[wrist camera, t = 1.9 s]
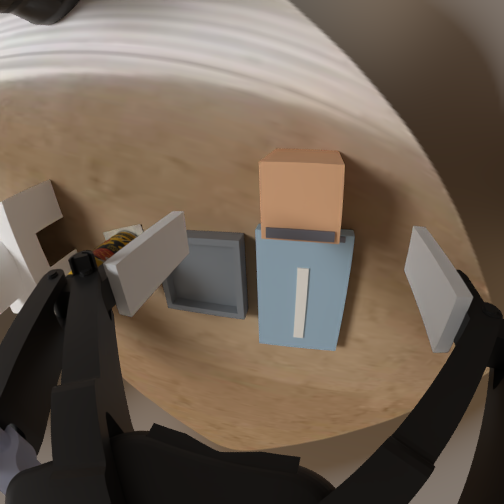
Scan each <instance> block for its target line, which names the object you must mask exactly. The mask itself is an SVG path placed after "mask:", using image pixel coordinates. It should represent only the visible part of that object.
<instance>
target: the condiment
mask: <svg viewBox="0 0 504 504" xmlns="http://www.w3.org/2000/svg"><path fill="white" fill-rule="evenodd" d="M142 233H143V230H142V227H141V225H140V224H139V225H134V226H129V227H125V228H120V229H116V230H112V231H108V232H103V234H104V236H105V239H106V241H105V242H104V243H103V244H101V245H100V246H98V247H97V248H96V249H94V250H93V253H94V256H95V260H96V263H97V267H99V266H100V265H101V264H102V263H104V262H105V261H106V260H107V259H109V258H110V257H111V256H112V255H114V254H115V253H116V252H118V251H119V250H120V249H121V248H123V247H125V246H126V245H127V244H128V243H130V242H131V241H132V240H134V239H135V238H136V237H138V236H139V235H140V234H142ZM71 277H73V274H72V271H70V273H69V274H68V275H67V276H66V278H71Z"/></svg>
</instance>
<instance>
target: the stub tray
mask: <svg viewBox="0 0 504 504" xmlns="http://www.w3.org/2000/svg"><path fill="white" fill-rule="evenodd" d="M186 232H187V239H188V246H189V254H188V255H187V256H186V257H185V258H184V259H183V260H182V261H181V263H180V264H179V265H178V266H177V267H176V268H175V269H174V270H173V271H172V272H171V273H170V275H169V276H168V277H167V278H166V279H165V280H164V281H163V282H162V284H163V288H164V292H165V296H166V300H167V304H168V308H173V309H178V310H184V311H190V312H196V313H202V314H209V315H215V316H222V317H229V318H236V319H245V317H246V314H247V312H248V296H247V279H246V262H245V245H244V233H232V232H214V231H195V230H186Z"/></svg>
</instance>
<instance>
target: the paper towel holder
mask: <svg viewBox="0 0 504 504" xmlns="http://www.w3.org/2000/svg"><path fill="white" fill-rule="evenodd" d="M62 217H63V216H62V213H61V210H60V207H59V205H58V202H57V199H56V196H55V193H54V190H53V187H52V184H51V181H50V179H49V180H47V181H44V182H42V183H40V184H38V185H35V186H33V187H31V188H29V189H26V190H24V191H22V192H20V193H18V194H16V195H14V196H12V197H10V198H8V199H6V200H4V201H2V202H0V314H1V313H2V312H3V311H5V310H6V309H7V308H8V307H9V306H10V307H11V309H12V311H13V312H14V313H19V312H20V310H21V308H22V307H23V305H24V304H25V302H26V301H27V299H28V297H29V296H30V294H31V293H32V291H33V290H34V288H35V287H36V286H37V284H38V283H39V281H40V280H41V278H42V277H43V276H44V275H45V274H46V273H48V271H50V270H53V269H54V270H55V269H62V270H63V271H64V274H65V276H67V275H68V274H69V273H70V271H71V268H70V265H69V261H68V260H69V258H70V257H71V256H72V255H74V254H76V253H78V252H77V250H76V249H75V250H73V251H72V252H70V253H69V254H68V255H66V256H65V257H64V258H62V259H61V260H59V261H58V262H57V263H55V264H54V265H53V266H51V267H50V265H49V263H48V261H47V259H46V257H45V255H44V252H43V250H42V248H41V245H40V243H39V241H38V238H37V236H36V233H37V232H38V231H40V230H42V229H43V228H45V227H47V226H48V225H50V224H52V223H53V222H55V221H57V220H59V219H60V218H62ZM54 312H55V311H54ZM55 315H56V313H55Z"/></svg>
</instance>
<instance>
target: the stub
mask: <svg viewBox="0 0 504 504" xmlns="http://www.w3.org/2000/svg"><path fill="white" fill-rule="evenodd" d="M344 172H345V164H344V162H343V160H342V158H341V155H340V153H339V151H329V150H310V149H275V150H274V151H272V152H271V153H270V154H268V155H267V156H266V157H264V158H263V159H262V160H260V161H259V179H260V211H261V239H273V240H288V241H302V242H316V243H330V244H339V241H340V230H341V219H342V206H343V191H344Z"/></svg>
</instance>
